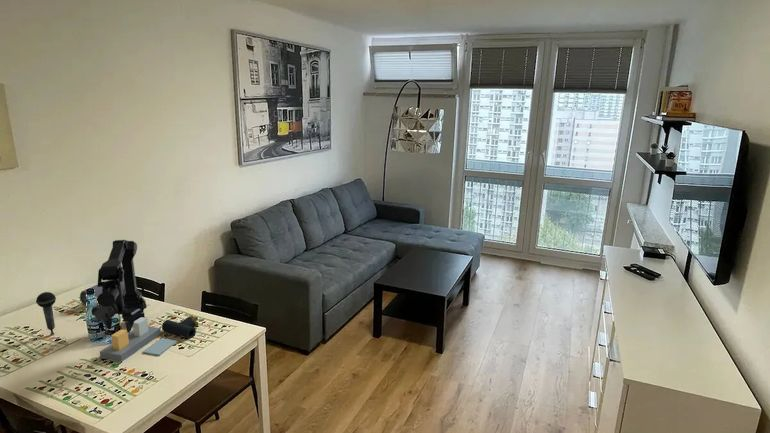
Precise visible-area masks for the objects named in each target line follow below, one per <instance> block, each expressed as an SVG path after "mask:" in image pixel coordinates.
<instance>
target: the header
mask: <svg viewBox="0 0 770 433" xmlns="http://www.w3.org/2000/svg"><path fill="white" fill-rule="evenodd" d="M148 329H149V331H148V332H146V333H145V334H143V335H142V336H140V337H139V336H134V331H133V330H131V331H130V332H129V333H128V339H129V344H128V345H127V346H125V347H124V348H122V349H121V350H114V349H113V344H112V343H110V344H109V345H108V346H106V347H105V348H103V349H101V350H100V351H99V355H100V359H103V360H108V361H109V360H110V361H115V362H118V363H119V362H123V361H126V360H127V359H128V358H130V357H131V356H133V354H136V353H137V352H138V351H140V350H142V348H144V347H145V346H147V345H148V344H150V343H151V342H153V341H154V340H155V339H156V338H158V337H159V336H161V335H162V331H161V329H162V328H161V327H155V326H154V327H153V326H150V325H148Z"/></svg>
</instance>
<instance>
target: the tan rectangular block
mask: <svg viewBox="0 0 770 433" xmlns="http://www.w3.org/2000/svg"><path fill="white" fill-rule="evenodd" d="M110 338H111V344H113V349H114V350H121V349H122V348H124V347H125V346H127V345H128V344H129V339H128V333H127V329H120V330H118V331H116V332H115V333H112V335H110Z"/></svg>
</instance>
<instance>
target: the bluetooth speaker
mask: <svg viewBox="0 0 770 433" xmlns="http://www.w3.org/2000/svg"><path fill="white" fill-rule="evenodd" d="M107 281H109V280H107ZM121 286H122V293H123V294H125V293H126V291H125V284H124V278H123V281H122V283H121ZM89 288H93V289H94V290H95V295H96V296H97V299H98V296H99V295H100V293H101V292H102V289H103V288H102V287H98V284H96V285H93V286H91V287H88V288H87V289H89ZM87 289H84V290H82V291H81V292H80V294H79V299H80V302H81V304H82V305H84V307H87V306H86V290H87Z"/></svg>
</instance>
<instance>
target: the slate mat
mask: <svg viewBox="0 0 770 433" xmlns="http://www.w3.org/2000/svg"><path fill="white" fill-rule="evenodd" d="M177 343H178V340H175V339H170V338H162V337H161V338H159V339H158V340H156V341H155V342H154V343H152V344H151V345H150V346H148V347H147V348H145V349H144V350H142V354H147V355H151V356H157V357H158V356H159V357H160V356H161V355H162V354H164V353H165V352H167V351H168V350H169V349H171V347H173V346H174V345H175V344H177Z"/></svg>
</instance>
